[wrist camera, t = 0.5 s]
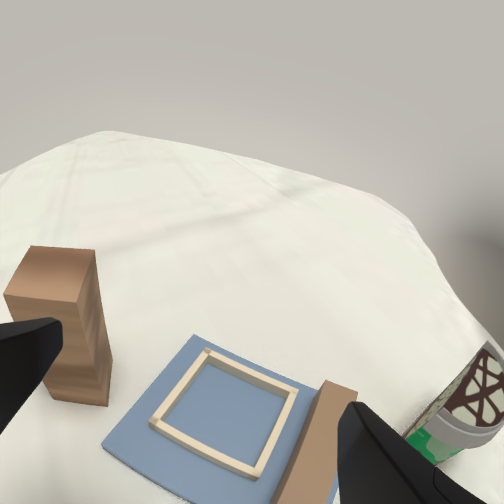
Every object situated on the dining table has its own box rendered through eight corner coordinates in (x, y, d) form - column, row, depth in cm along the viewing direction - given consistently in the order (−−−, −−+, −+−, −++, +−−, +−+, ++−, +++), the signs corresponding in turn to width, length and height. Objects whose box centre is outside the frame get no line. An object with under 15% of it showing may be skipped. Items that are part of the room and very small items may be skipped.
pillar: (107, 406, 21) (76, 302, 15) (53, 399, 20) (2, 294, 13) (112, 359, 25) (94, 249, 19) (63, 354, 24) (30, 245, 17)
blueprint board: (310, 547, 14) (333, 543, 12) (103, 448, 18) (91, 428, 16) (355, 411, 25) (375, 388, 23) (193, 340, 29) (196, 312, 27)
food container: (409, 510, 16) (493, 466, 11) (367, 467, 20) (439, 412, 15) (466, 432, 23) (528, 375, 18) (433, 399, 27) (488, 337, 22)
